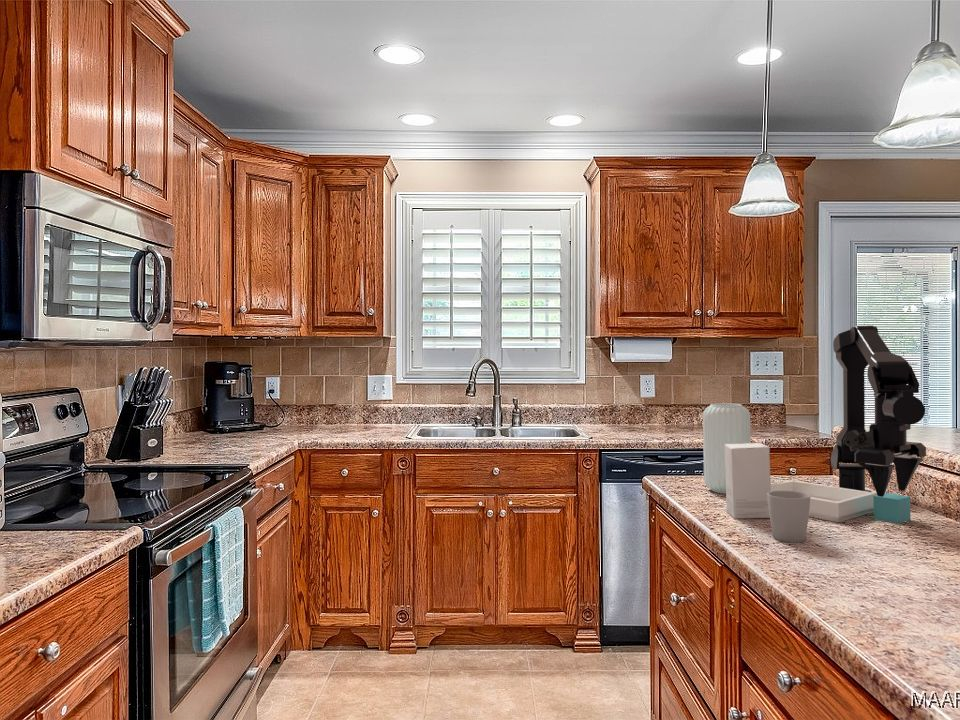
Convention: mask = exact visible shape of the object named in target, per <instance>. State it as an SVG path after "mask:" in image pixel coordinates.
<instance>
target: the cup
mask: <svg viewBox="0 0 960 720" xmlns="http://www.w3.org/2000/svg"><path fill="white" fill-rule="evenodd" d="M767 498H768V506H769V514H770V518H769V521H770V525H771V531H772V537H773V538H774V539H775V540H777V541H781V542H785V543H801V542H802V543H803V542H804V541H805V540H806V538H807V531H808V523H809V518H810V517H809V507H810V495H809V494H806V493H802V492H796V491H771V492H768V493H767Z"/></svg>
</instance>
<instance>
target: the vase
mask: <svg viewBox="0 0 960 720" xmlns="http://www.w3.org/2000/svg"><path fill="white" fill-rule="evenodd" d="M702 438H703V439H702V440H703V441H702V444H703V447H702V448H703V481H704V484H705V486H706V487H707V488H709V490H711V491H712V492H715V493H718V494H725V495H726V470H725V444H747V443H752V442H751V440H752V439H751V412H750V411H749V409H748V408H746V407H745V406H743V404H740V403H711V404H710V405H708V406H707V407H705V409H704V411H703V412H702Z"/></svg>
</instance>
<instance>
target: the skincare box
mask: <svg viewBox="0 0 960 720" xmlns="http://www.w3.org/2000/svg"><path fill="white" fill-rule="evenodd" d="M770 450H771V448H770V446H768V445H765V444H763V443H761V442H755V443H753V442H751V443H747V444H725V470H726V494H725V495H726V497H725V498H726V513H727V514H728V515H730V516H731V517H732V518H733V519H734V520H736V519H770V514H769V506H768V498H767V493H768V492H771V458H770V457H771V456H770V453H771V451H770Z"/></svg>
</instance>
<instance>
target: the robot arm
mask: <svg viewBox="0 0 960 720" xmlns="http://www.w3.org/2000/svg"><path fill="white" fill-rule="evenodd" d="M832 347H833V348H832V349H833V352H834V353H835V359H836V361H837V362H838V363H839V365H840V366H841V368H842V369H843V373H842V375H843V376H842V377H843V379H842V380H843V383H842V386H843V387H842V388H843V390H842V391H843V392H842V393H843V394H842V395H843V399H842V400H843V427H842V428H841V430H840V431H839V433H838V434H837V436H836V441H835V442H836V443H835V445H834V446H833V449H832V451H831V452H832V453H831V455H830V466H831V467H832V468H833V469H836V470H838V487H840V488H846V489H853V490H859V491H866V492H872V493H873V491H872V490H871V489H870V490H869V489H866V471H867V472H868V474H869V477H870V478H871V481H872V484H873V487H874V489H875V493H876V495H878V496H880V497H883V496H884V494H885V493H887V492H886V491H887V489H888V485H889V482H890V479H891V476H892V473H893V471H894V470H895V475H896V483H897V484H896V485H897V488H898V490H899V491H901V492H904V491H906V489H907V487H908V485H909V484H910V481H911V480H912V478H913V476H914V474H915V473H916V470H917V469H918V467H919V465H920V464H921V462H923V460H924V459H923V457H926V456H927V448H926V446H925V445H924V444H923V443H922V442H914V441H908V440H907V439H908V437H907V434H908V432H907V431H909V430H911V429H912V428H911V425H915V424H917V423H919V422H921V420H922V419H923V418H924V417H925V414H926V407H925V405H924V403H923V401H922V400H920V399H919V398H918V397H916V396H914V394H919V393H920V390H919V388H920V383H919V380H918V377H917V375H916V373H915V371H914V369H913V367H912V365H910V363H909V361H908V360H906V359H905V358H904V357H903V356H901V355H899V354H895V353H892V352H891V350H890V349H889V347H888V346H887V344H886V343H885V341H884V340H883V339H882V337H881V336H880V334H879V329H878V327H877V326H874V325H873V324H872V325H855V326H852V327H851V328H850V329H848V330H845V331H843V332H840V333H837V335H836V336H835V337H834V338H833V346H832ZM867 366H868V368H867ZM866 368H867V372H866V373H867V380H868V382H869V384H870V387H871V389H872V391H873V396H874V423H870V424H869V426H868V427H869V428H868V429H869V431H867V430H866V426H865V425H866V423H865V422H866V421H865V420H866V419H865V417H866V415H865V399H866V398H865V371H866V370H865V369H866Z"/></svg>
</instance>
